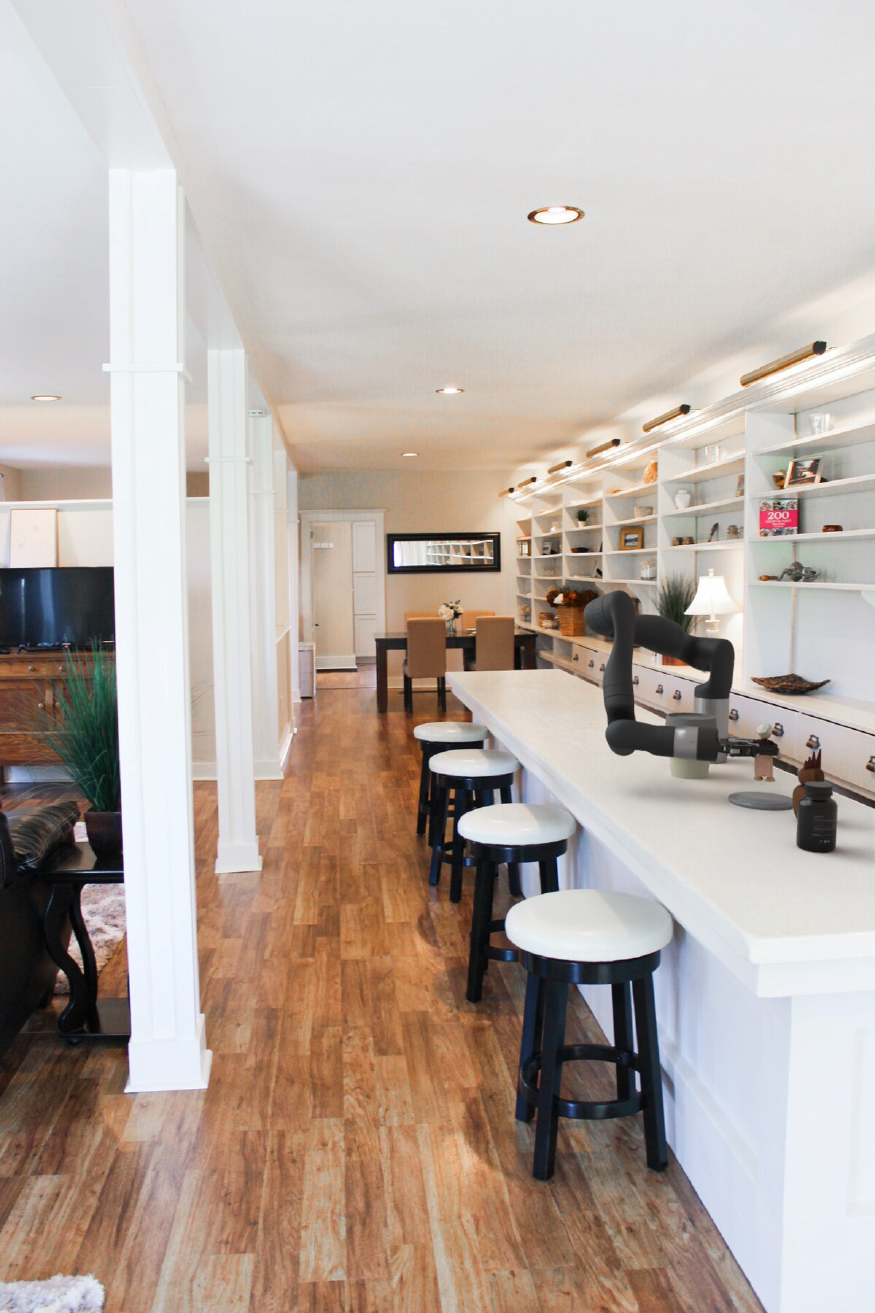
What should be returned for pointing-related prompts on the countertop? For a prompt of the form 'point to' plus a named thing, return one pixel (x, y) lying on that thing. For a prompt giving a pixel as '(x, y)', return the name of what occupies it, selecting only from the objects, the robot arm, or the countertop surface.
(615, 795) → the countertop surface
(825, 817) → the supplement bottle
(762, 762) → the grandmother figurine
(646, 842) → the countertop surface
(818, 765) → the wooden figurine
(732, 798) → the slate coaster
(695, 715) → the reusable coffee cup
